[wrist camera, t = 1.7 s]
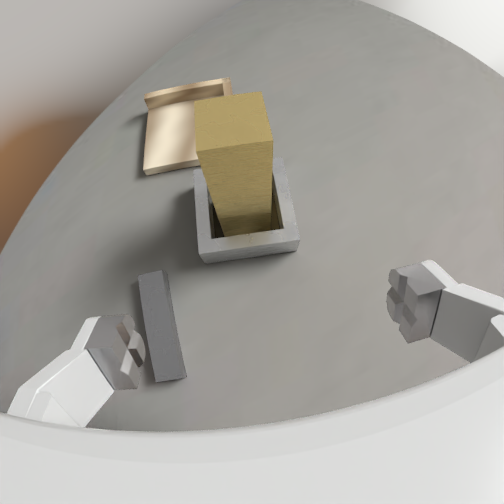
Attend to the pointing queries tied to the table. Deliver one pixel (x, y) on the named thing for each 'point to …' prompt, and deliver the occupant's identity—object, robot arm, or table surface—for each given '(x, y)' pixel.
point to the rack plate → (176, 124)
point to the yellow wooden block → (236, 160)
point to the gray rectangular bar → (161, 326)
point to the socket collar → (253, 242)
